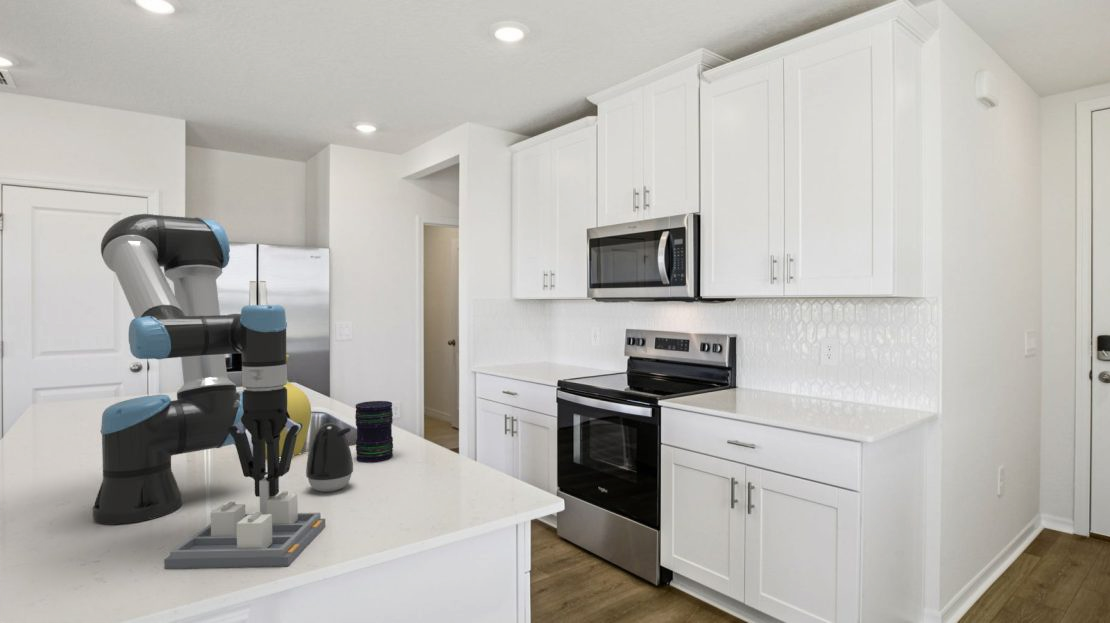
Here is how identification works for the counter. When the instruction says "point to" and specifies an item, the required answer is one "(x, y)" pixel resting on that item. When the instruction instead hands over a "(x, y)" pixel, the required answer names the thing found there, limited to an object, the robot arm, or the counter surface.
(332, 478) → the pump dispenser
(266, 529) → the tab
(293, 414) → the vase
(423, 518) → the counter surface
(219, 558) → the switch bank
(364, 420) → the storage jar
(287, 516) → the tab
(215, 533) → the tab
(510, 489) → the counter surface
